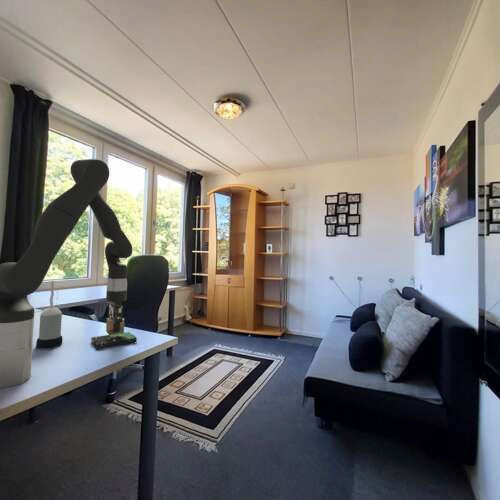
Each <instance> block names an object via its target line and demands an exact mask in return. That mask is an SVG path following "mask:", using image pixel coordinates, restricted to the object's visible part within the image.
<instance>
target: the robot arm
mask: <svg viewBox="0 0 500 500" xmlns="http://www.w3.org/2000/svg"><path fill="white" fill-rule="evenodd" d="M70 174H71V177H72V179H73V181H74V184H73V186H72V187H70V188H69V189H67V190H66V191H65V192H63V193H61V194H60V195H59V196H57V197H56V198H55V199H53V200H52V201H51V202H50V203H49V204H48V205H47V206H46V207H45V209H44V211H42V213H41V214H40V216H39V217H38V218H37V220H36V223H35V225H34V226H35V227H34V230H33V231H34V232H33V237H32V241H31V243H30V245H29V247H28V248H27V250H26V251H25V253H23V255H22V256H21V257H20V258H19V260H18V261H17V262H14V261H13V262H9V261H8V262H4V263H3V262H2V263H1V264H0V389H3V388H7V387H13V386H17V385H22V384H24V383H25V382H26V381H27V380H29V379H30V378H31V374H32V356H33V340H34V339H33V337H34V325H35V322H34V320H35V308H34V307H33V305H32V304H31V303H30V302H29V298H28V296H29V295H31V294H33V293H34V292H36V291H37V290H38V289H39V287H40V286H41V285H42V283H43V281H44V279H45V278H46V276H47V273H48V272H49V270H50V268H51V265H52V263H53V262H54V259H55V258H56V256H57V254H58V252H59V251H60V250H61V248H62V247H63V245H64V244H65V242H66V240H67V238H68V237H69V235H70V234H71V233H72V231H74V229H75V227H76V225H77V223H79V221H80V219H81V218H82V216H83V214H84V213H85V212H86V210H87V208H88V207H90V209H91V212H93V215H94V217H95V219H96V221H97V224H98V227H99V229H100V232H101V234H102V235H103V237H104V238H105V239H107V240H110V241H108V242H107V244H105V248H104V254H105V260H106V263H107V268H108V270H107V271H108V272H107V282H106V296H105V300H106V302H108V318H114V330H113V332H114V333H115V332H119V331H120V323H121V322H122V318H123V319H124V317H123V316H124V309H125V308H124V307H123V305H122V302H125V301H126V300H127V295H128V294H127V293H128V290H127V289H128V280H127V279H128V278H127V277H128V266H127V264H124V263H122V262H121V259H127V258H130V257H131V256H132V253H133V245H132V243H131V241H130V239H129V238H128V236H127V235H126V234H125V232H124V231H123V230H122V227H121V225H120V221H119V219H118V217H117V214H116V213H115V212H114V210H113V208H112V207H111V206H110V205H109V204H108V202H106V201H105V199H104V198H103V197H102V195H101V194H100V192H101V189H102V188H103V187H105V185H106V184H107V183H108V181H109V178H110V169H109V166H108V164H107V163H106V162H105V161H104V160H101V159H97V158H88V159H87V158H85V159H78V160H75V161H73V162H72V163H71V166H70ZM117 317H119V319H117Z"/></svg>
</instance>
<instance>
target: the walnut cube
mask: <svg viewBox="0 0 500 500" xmlns="http://www.w3.org/2000/svg"><path fill="white" fill-rule="evenodd" d="M117 319H119V317H117ZM113 330H114V318H110V317H106V326H105V332H106V333H107V335H112V334H119V333H125V318H124V317H123V318H122V322H121V323H120V331H119V332H115V333H114V332H113Z"/></svg>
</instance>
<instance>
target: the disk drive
mask: <svg viewBox="0 0 500 500" xmlns="http://www.w3.org/2000/svg"><path fill="white" fill-rule="evenodd" d="M137 340H138V339H137V336H135V334H132V333H131V332H130V331H128V332H124V333H119V334H112V335H109V334H106V335H99V336H93V337H92V336H91V342H90V343H91V345H92V346H93V347H94V349H95V350H97V351H98V350H105V349H110V348H115V347H121V346H126V345H131V343H133V344H136V343H137ZM135 342H136V343H135Z"/></svg>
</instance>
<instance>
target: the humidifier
mask: <svg viewBox="0 0 500 500" xmlns="http://www.w3.org/2000/svg"><path fill="white" fill-rule="evenodd" d="M54 284H55V283H54V280H51V282H50V298H49V307H47V308H46V309H44V310H42V311H41V313H40V317H39V329H38V330H39V331H38V338H36V343H35V349H38V350H49V349H56V348H58V347H60V346H62V345H63V341H64V340H63V338H64V337H63V336H62V335H61V334H62V317H63V315H62V311H61V309H59V308H57V306H58V304H56V306H55V305H54V301H53V299H54V295H55V291H54ZM58 286H59V285H57V287H56V291H58V290H59V289H58V288H59V287H58ZM58 298H59V294H58V293H57V296H56V299H58Z"/></svg>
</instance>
